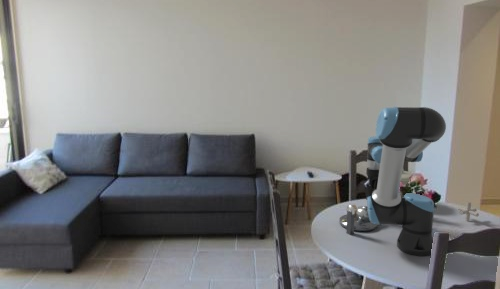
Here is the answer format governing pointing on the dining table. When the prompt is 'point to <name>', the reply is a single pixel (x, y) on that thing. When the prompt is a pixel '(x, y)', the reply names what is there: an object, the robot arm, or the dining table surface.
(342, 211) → the dining table surface
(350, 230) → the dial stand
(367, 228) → the turntable
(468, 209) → the pipe connector
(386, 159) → the robot arm
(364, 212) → the cover
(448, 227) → the dining table surface
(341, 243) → the dining table surface
